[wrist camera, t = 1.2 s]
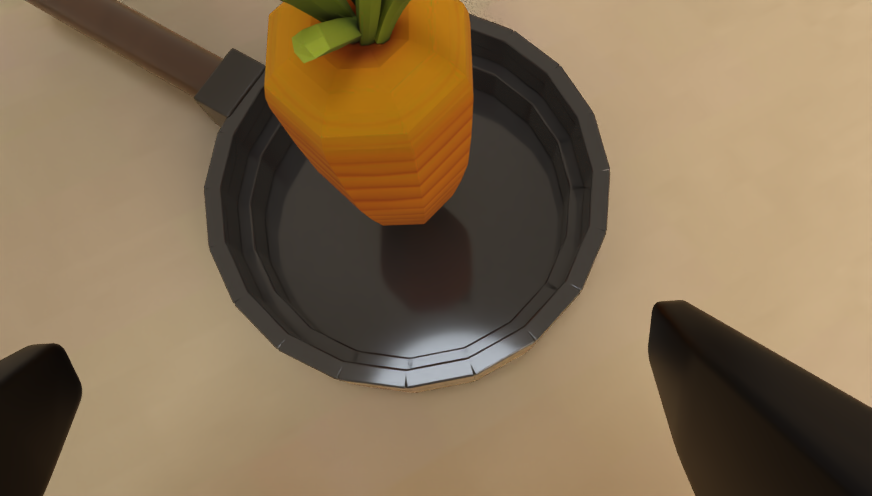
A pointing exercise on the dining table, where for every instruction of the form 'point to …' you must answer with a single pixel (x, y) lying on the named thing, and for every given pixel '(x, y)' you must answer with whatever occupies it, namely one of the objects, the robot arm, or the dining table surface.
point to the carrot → (376, 98)
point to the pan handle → (162, 52)
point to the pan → (418, 234)
